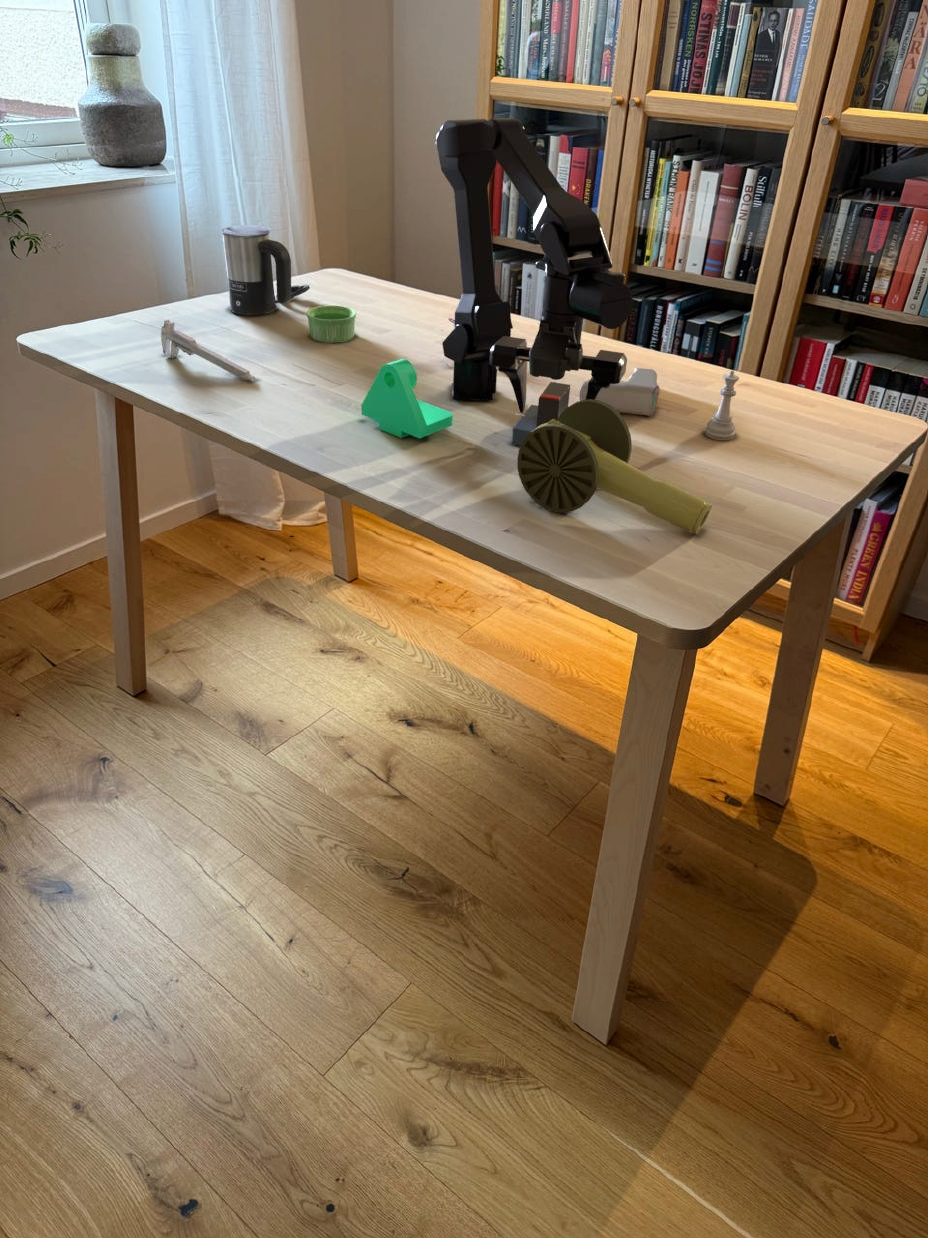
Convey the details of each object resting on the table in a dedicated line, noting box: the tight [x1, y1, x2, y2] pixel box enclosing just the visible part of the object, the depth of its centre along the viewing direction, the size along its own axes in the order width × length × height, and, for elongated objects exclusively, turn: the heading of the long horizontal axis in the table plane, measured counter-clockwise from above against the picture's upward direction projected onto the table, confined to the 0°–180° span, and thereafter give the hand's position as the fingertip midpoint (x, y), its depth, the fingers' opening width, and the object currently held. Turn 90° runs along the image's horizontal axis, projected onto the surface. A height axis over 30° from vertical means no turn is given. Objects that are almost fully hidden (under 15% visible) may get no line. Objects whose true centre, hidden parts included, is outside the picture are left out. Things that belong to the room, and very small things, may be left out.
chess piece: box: [704, 370, 740, 441], centre depth 140 cm, size 4×4×10 cm
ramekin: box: [306, 304, 357, 344], centre depth 173 cm, size 9×9×4 cm
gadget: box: [536, 381, 571, 427], centre depth 137 cm, size 7×3×5 cm, turn 162°
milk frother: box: [220, 224, 311, 316], centre depth 184 cm, size 14×16×15 cm
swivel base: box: [511, 404, 538, 447], centre depth 139 cm, size 13×11×3 cm
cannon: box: [516, 399, 713, 535], centre depth 118 cm, size 25×12×11 cm, turn 58°
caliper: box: [160, 319, 256, 382], centre depth 156 cm, size 20×1×6 cm, turn 57°
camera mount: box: [360, 358, 454, 439], centre depth 138 cm, size 12×8×10 cm, turn 48°
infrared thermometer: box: [578, 367, 660, 416], centre depth 153 cm, size 5×12×15 cm
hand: (552, 416), depth 138 cm, fingers open, 9 cm apart
